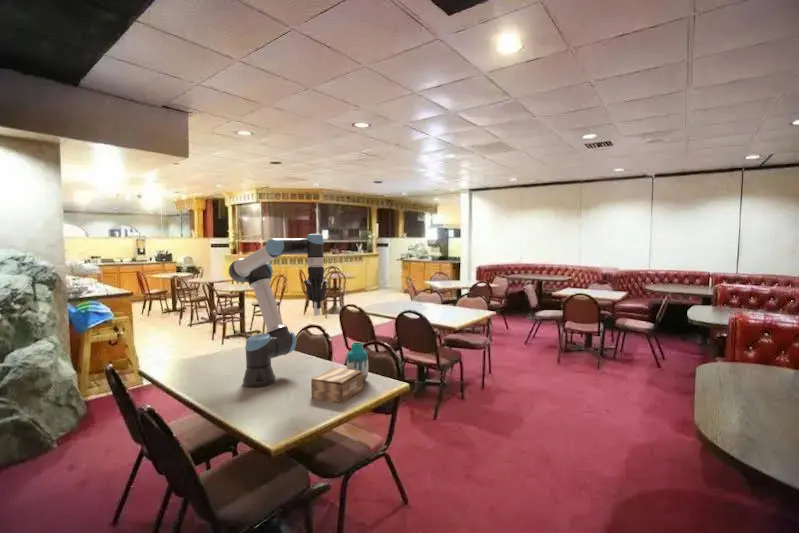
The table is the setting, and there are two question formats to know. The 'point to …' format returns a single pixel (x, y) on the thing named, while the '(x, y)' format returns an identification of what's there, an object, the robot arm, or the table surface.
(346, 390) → the wooden box
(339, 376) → the flap
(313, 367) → the table surface
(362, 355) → the vase
